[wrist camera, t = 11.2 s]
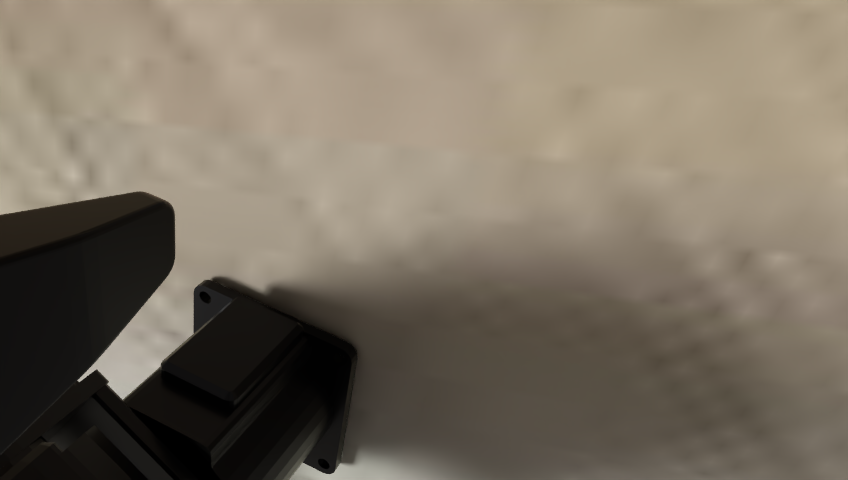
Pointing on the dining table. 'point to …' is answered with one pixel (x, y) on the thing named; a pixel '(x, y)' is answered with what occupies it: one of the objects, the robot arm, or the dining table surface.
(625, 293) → the dining table surface
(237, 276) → the dining table surface
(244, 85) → the dining table surface
